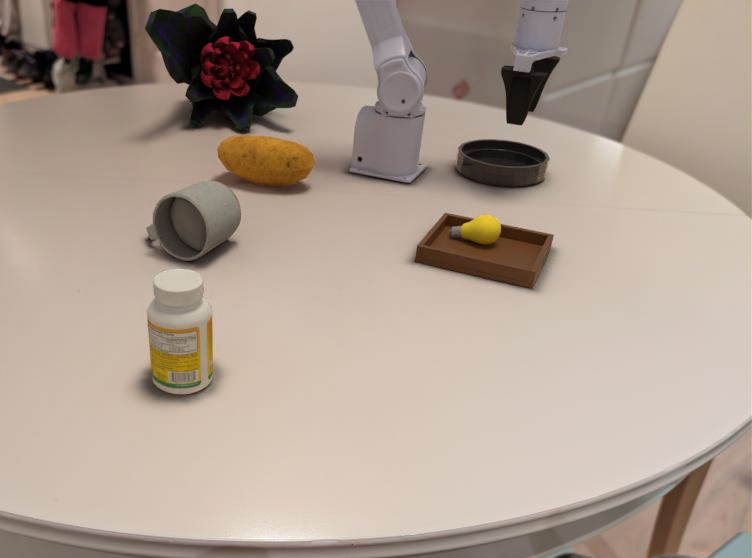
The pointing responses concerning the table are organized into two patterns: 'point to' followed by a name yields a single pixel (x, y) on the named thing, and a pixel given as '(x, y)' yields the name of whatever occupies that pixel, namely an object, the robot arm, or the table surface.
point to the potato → (266, 159)
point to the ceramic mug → (195, 219)
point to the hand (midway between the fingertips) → (520, 117)
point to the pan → (502, 162)
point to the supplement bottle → (180, 332)
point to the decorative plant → (222, 63)
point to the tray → (486, 252)
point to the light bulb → (478, 230)
